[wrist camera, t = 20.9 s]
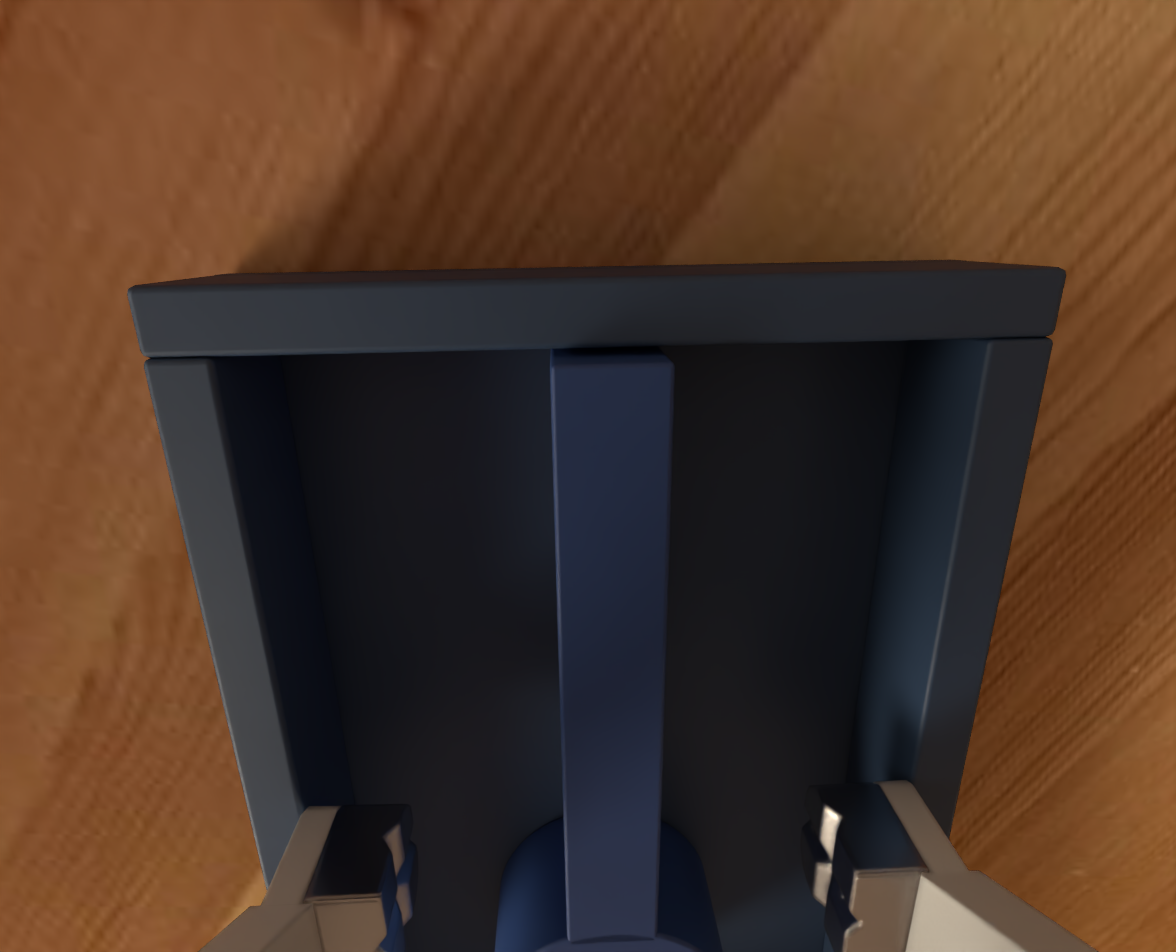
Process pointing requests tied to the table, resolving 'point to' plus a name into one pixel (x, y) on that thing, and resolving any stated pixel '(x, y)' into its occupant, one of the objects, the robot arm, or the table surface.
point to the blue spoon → (610, 678)
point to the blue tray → (527, 544)
